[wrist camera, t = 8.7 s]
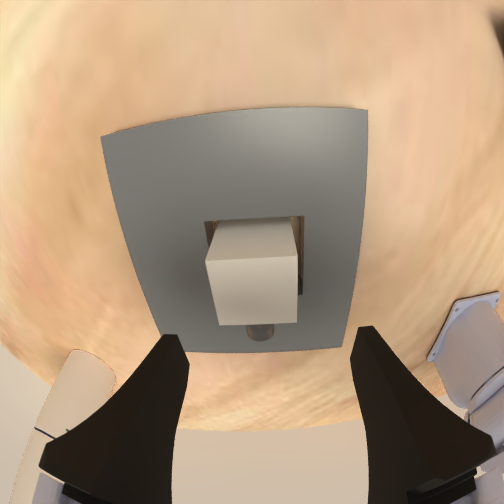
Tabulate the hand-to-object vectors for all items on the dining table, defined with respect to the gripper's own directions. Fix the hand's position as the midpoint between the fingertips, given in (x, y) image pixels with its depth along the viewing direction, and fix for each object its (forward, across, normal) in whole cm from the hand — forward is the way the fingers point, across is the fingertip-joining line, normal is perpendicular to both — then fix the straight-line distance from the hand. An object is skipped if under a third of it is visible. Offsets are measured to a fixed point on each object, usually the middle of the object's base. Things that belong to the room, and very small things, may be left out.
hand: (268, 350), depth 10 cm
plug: (+9, +1, 0) cm, 9 cm away
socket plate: (+9, +2, 0) cm, 10 cm away
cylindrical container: (+10, +24, +17) cm, 31 cm away
